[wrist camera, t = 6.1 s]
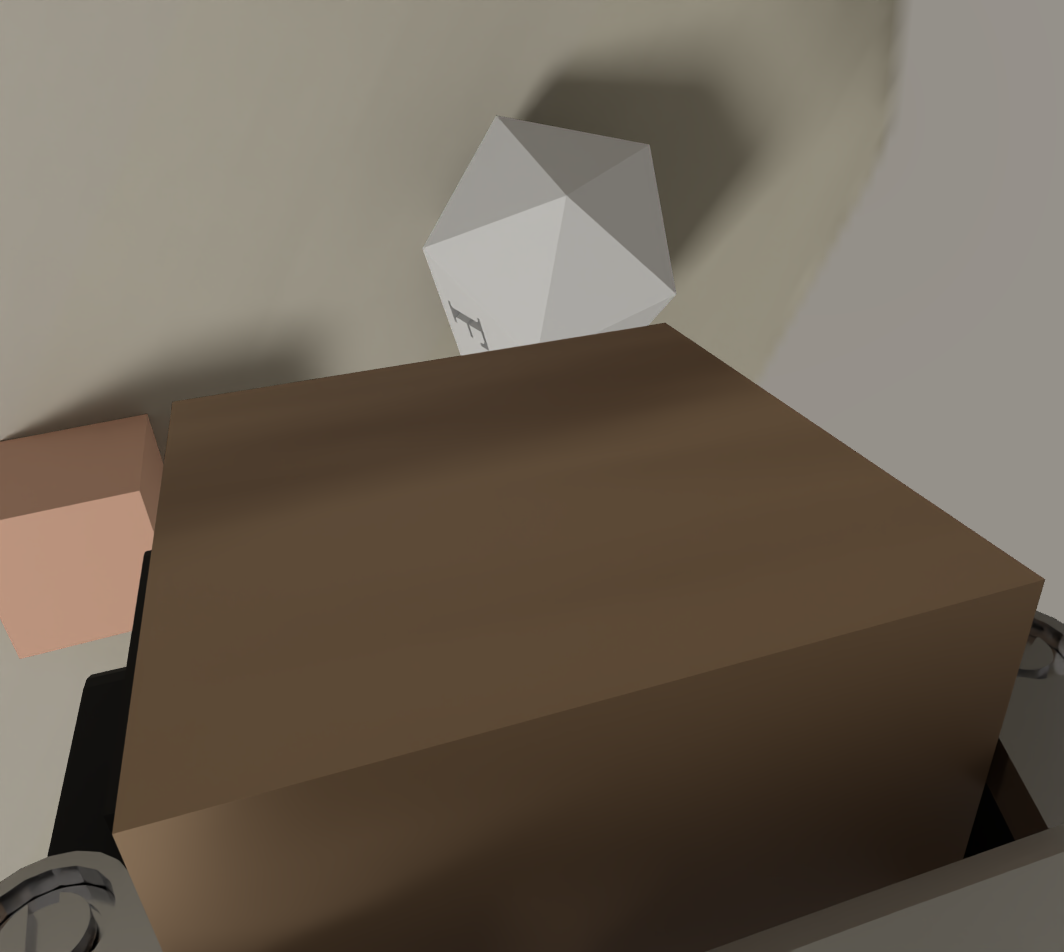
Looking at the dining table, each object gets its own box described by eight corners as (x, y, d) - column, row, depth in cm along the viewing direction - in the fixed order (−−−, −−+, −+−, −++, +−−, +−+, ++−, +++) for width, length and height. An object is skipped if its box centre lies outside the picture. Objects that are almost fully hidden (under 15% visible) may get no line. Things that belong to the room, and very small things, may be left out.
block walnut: (172, 402, 9) (112, 833, 4) (665, 322, 11) (1044, 580, 6) (277, 780, 12) (315, 1303, 7) (656, 678, 14) (905, 1055, 9)
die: (423, 77, 29) (363, 271, 24) (674, 50, 28) (669, 252, 22) (476, 258, 36) (438, 441, 31) (682, 245, 34) (679, 437, 29)
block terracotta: (-5, 441, 30) (-43, 528, 25) (147, 413, 31) (139, 490, 26) (45, 558, 32) (20, 658, 27) (184, 527, 33) (183, 618, 29)
